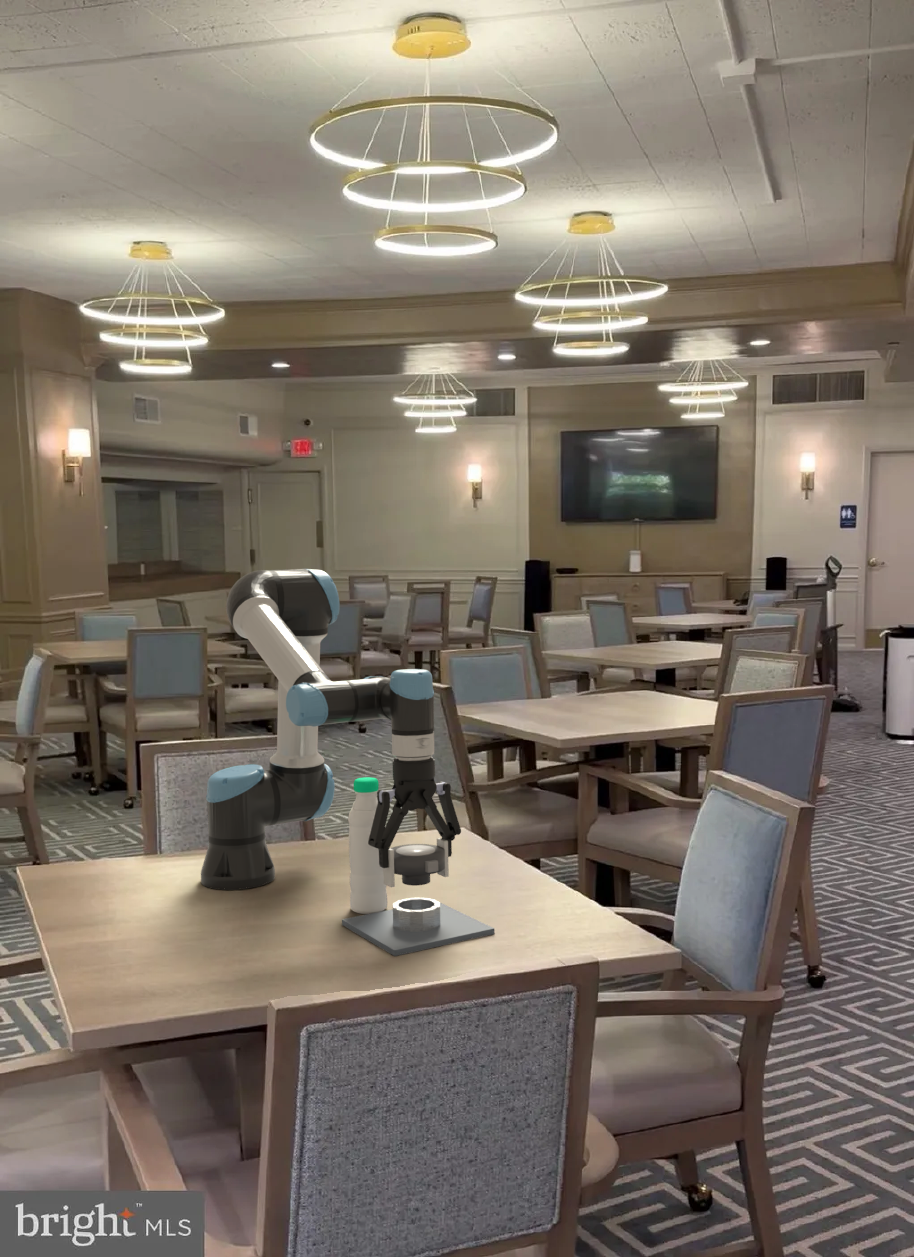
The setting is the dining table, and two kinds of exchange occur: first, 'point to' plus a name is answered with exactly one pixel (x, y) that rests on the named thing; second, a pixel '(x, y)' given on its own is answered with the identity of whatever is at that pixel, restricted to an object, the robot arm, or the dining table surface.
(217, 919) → the dining table surface
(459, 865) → the dining table surface
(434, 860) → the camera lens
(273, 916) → the dining table surface
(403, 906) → the grey hollow ring
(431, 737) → the robot arm
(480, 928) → the slate board
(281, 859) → the dining table surface
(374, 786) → the water bottle
